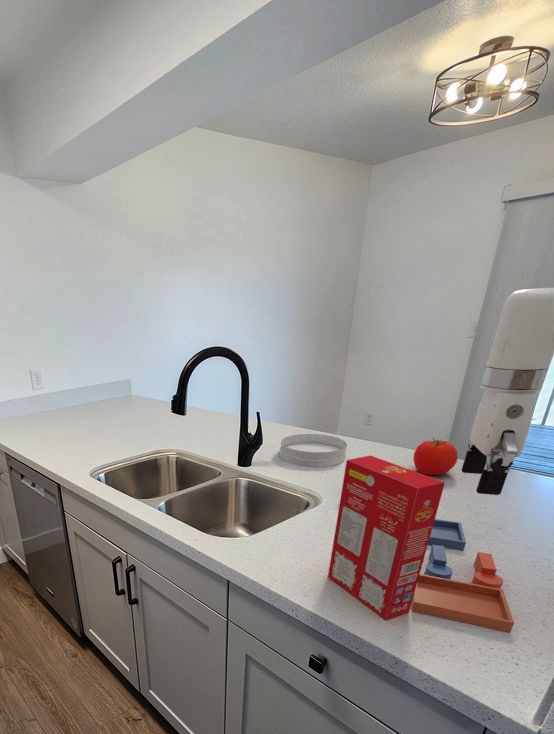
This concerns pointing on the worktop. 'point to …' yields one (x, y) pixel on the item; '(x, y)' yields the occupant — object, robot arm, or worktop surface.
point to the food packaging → (383, 533)
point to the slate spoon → (438, 563)
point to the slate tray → (447, 534)
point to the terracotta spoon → (486, 571)
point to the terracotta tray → (462, 602)
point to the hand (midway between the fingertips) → (479, 482)
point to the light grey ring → (313, 450)
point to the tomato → (435, 457)
